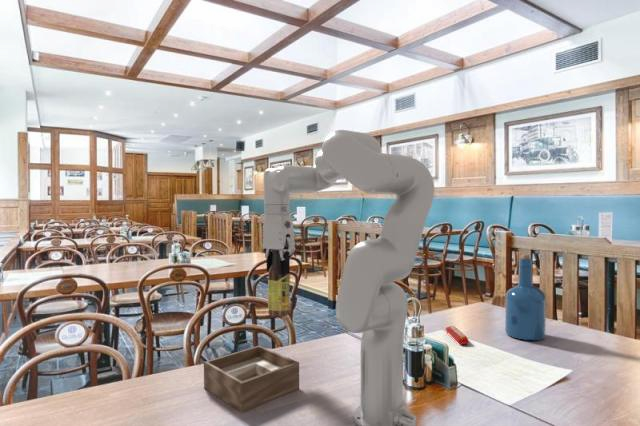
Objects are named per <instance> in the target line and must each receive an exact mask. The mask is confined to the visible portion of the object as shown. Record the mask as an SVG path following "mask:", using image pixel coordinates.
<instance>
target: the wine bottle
mask: <svg viewBox="0 0 640 426" xmlns="http://www.w3.org/2000/svg"><path fill="white" fill-rule="evenodd" d="M518 265H519V266H518V267H519V271H518V272H519V275H518V284H517V285H516V286H514V287H511V288H509V289H508V290H507V291H506V293H505V317H504V318H505V320H504V321H505V322H504V323H505V328H504V329H505V333H506V335H507V334H508V336H509V335H510V336H509V337H511V336H512V338H513V337H515V338H514V339H516V338H518V339H517V340H520V339H524V340H523V341H527V340H537V341H541V340H543V339H544V338H546V316H547V315H546V314H547V312H546V311H547V308H546V305H547V303H546V300H547V299H546V295H545V293H544V291H542V289H540V288H538V287H537V286H534V285H533V275H532V274H533V272H532V271H533V269H532V268H533V261H532V258H531V255H530V254H528V253H526V254H525V253H524V254H521V257H520V258H519V264H518ZM542 338H543V339H542ZM540 339H541V340H540Z"/></svg>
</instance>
